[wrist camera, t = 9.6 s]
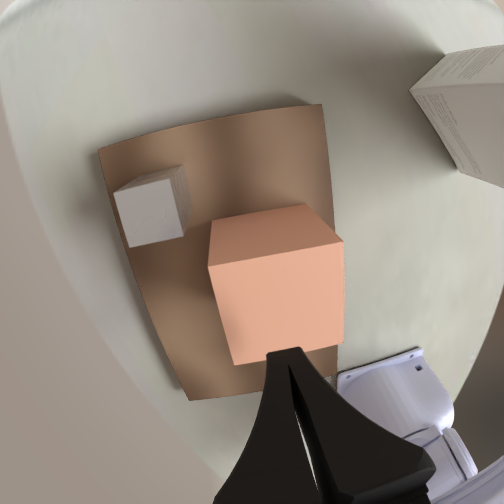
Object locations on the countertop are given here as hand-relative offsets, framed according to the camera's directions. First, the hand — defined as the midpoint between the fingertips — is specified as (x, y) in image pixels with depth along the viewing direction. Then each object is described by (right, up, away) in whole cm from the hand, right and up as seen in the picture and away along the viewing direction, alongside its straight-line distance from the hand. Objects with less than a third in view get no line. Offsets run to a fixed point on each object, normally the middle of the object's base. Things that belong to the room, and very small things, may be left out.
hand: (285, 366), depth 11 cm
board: (-2, +3, +9) cm, 10 cm away
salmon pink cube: (0, +4, +7) cm, 8 cm away
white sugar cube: (-6, +8, +5) cm, 11 cm away
